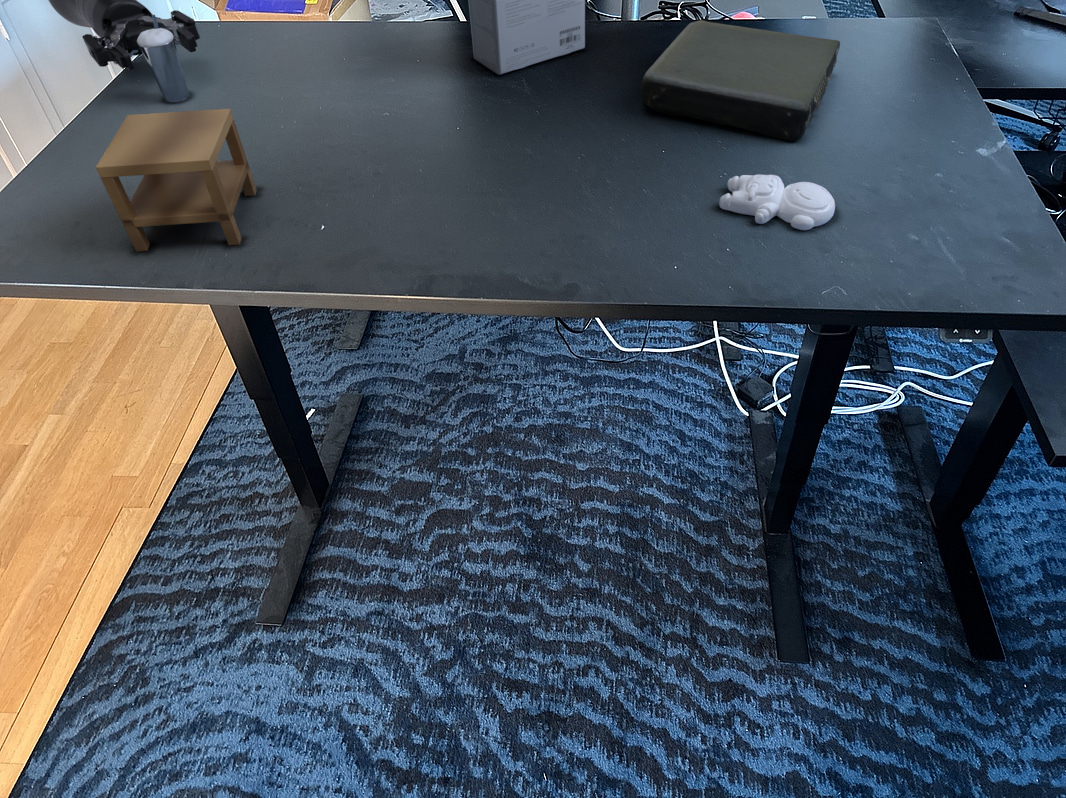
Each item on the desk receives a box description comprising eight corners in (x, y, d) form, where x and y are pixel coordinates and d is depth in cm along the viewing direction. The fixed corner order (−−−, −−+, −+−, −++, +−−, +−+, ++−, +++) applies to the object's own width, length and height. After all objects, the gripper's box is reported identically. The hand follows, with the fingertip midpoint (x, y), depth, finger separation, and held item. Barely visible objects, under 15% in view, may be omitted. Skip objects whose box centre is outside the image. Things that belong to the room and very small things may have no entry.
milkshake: (196, 86, 110) (170, 12, 103) (191, 103, 106) (164, 28, 99) (164, 89, 110) (135, 16, 102) (158, 106, 106) (128, 31, 99)
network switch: (822, 147, 93) (832, 108, 90) (632, 123, 99) (635, 84, 95) (834, 67, 108) (843, 30, 105) (669, 50, 114) (672, 14, 110)
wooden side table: (136, 251, 82) (94, 167, 75) (162, 196, 90) (127, 114, 83) (239, 244, 83) (208, 159, 76) (257, 190, 90) (230, 108, 83)
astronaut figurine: (734, 176, 89) (738, 152, 87) (839, 198, 86) (847, 174, 83) (711, 214, 84) (715, 190, 82) (823, 240, 80) (830, 215, 78)
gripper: (57, 5, 107) (95, 39, 98) (157, -20, 113) (202, 10, 104) (81, 60, 112) (120, 96, 103) (176, 33, 118) (220, 65, 109)
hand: (161, 53), depth 104 cm, fingers open, 8 cm apart
